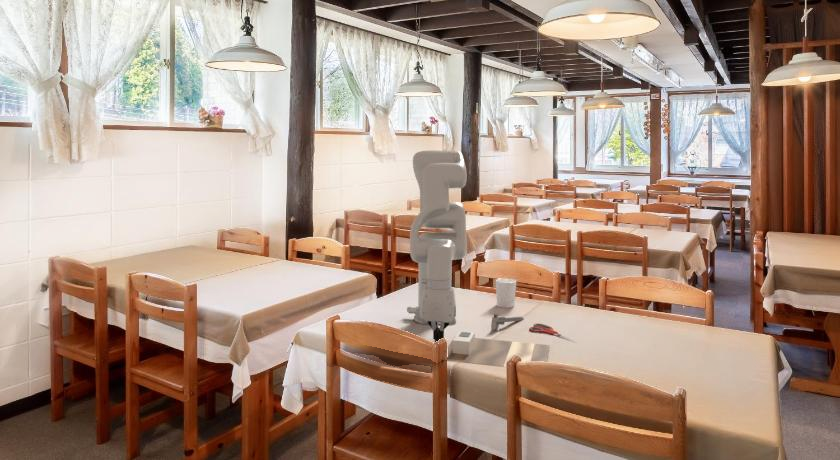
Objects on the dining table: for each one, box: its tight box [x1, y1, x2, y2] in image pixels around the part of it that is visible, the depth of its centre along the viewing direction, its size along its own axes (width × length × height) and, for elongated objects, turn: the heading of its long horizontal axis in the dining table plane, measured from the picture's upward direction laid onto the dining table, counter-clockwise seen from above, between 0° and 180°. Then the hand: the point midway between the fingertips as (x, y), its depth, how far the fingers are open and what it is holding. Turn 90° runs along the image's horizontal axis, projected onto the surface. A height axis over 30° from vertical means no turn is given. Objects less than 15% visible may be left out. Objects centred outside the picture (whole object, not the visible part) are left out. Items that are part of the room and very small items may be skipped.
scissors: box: [528, 323, 577, 344], centre depth 194 cm, size 8×21×2 cm, turn 44°
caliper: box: [490, 313, 525, 332], centre depth 204 cm, size 20×1×6 cm, turn 141°
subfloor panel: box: [446, 336, 550, 368], centre depth 176 cm, size 30×22×1 cm
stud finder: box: [452, 330, 476, 355], centre depth 178 cm, size 5×9×4 cm, turn 165°
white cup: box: [495, 277, 517, 309], centre depth 228 cm, size 8×8×10 cm
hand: (438, 341), depth 180 cm, fingers closed
